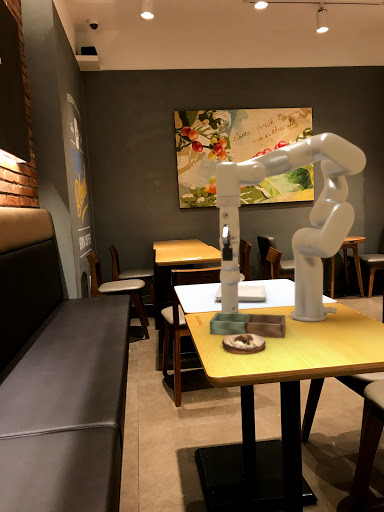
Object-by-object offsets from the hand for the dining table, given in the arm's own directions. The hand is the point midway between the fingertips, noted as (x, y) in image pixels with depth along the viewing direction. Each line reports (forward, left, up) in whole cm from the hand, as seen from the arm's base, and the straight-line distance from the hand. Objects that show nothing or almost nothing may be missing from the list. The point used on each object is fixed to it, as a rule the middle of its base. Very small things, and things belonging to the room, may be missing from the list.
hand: (229, 258), depth 127 cm
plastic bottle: (0, 0, -9) cm, 9 cm away
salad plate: (+3, -46, -24) cm, 52 cm away
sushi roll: (-6, +15, -24) cm, 29 cm away
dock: (-6, 0, -23) cm, 24 cm away
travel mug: (+3, -19, -24) cm, 30 cm away
